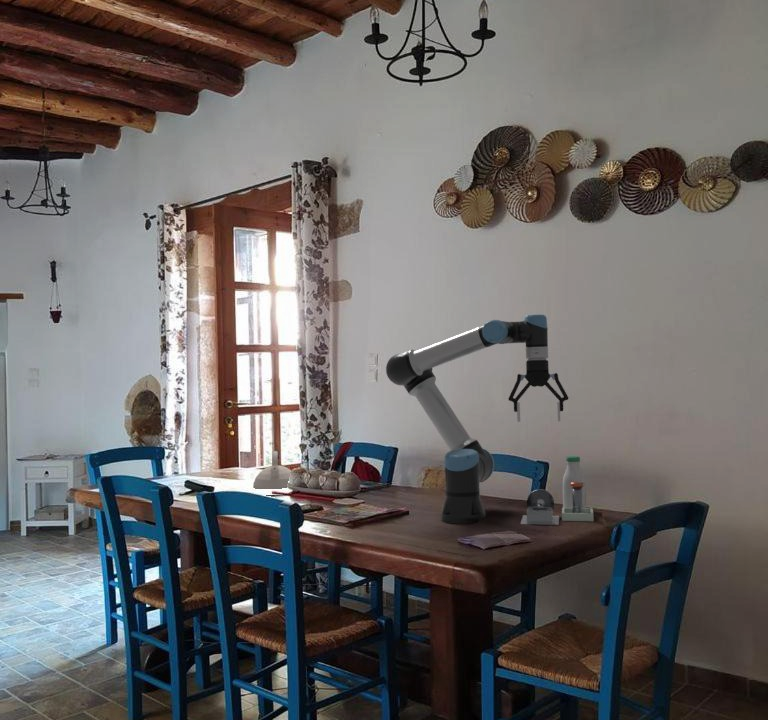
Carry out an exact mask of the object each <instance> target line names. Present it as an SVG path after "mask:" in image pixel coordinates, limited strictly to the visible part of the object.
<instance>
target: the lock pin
mask: <svg viewBox="0 0 768 720" xmlns="http://www.w3.org/2000/svg"><path fill="white" fill-rule="evenodd" d="M570 486H571V487H572V513H582V487H584V486H583V482H570Z"/></svg>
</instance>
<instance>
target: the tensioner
mask: <svg viewBox="0 0 768 720" xmlns="http://www.w3.org/2000/svg"><path fill="white" fill-rule="evenodd" d="M526 506H527V508H526V514H523V515H522V518H521V521H520V525H548V526H549V525H551V526H552V525H555V526H556V525H557V526H559V524H560V515H553V510H554V508H555V499H554V497H553V495H552V494H551V493H550V492H549V491H548V490H546V489H545V488H544V489H541V488H537V489H534V490H533V491H531V492H530V493H529V495H528V497H527V499H526Z"/></svg>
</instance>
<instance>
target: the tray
mask: <svg viewBox="0 0 768 720" xmlns="http://www.w3.org/2000/svg"><path fill="white" fill-rule="evenodd" d="M561 521H563V522H564V521H565V522H594V509H593V507H586V508H582V513H572V508H563V507H562V508H561Z"/></svg>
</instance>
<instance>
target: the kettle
mask: <svg viewBox="0 0 768 720" xmlns="http://www.w3.org/2000/svg"><path fill="white" fill-rule="evenodd" d="M271 455H272V456H271V457H272V458H271V461H272V462H271V463H272V464H271V465H270V466H269V465H268V466H267V467H265V468H264V469H262V470H261V471H259V473H258V474H257V476H256V477H255V478H254V481H253V484H252V486H253V487H252V489H253V488H255V489H282V488H287V484H288V481H289V477H290V472H291V471H292V470H291V469H290V468H288V467H286V466H283V465H279V462H278V461H279V459H280V456H279V451H278V450H274V451H272V454H271Z"/></svg>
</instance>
